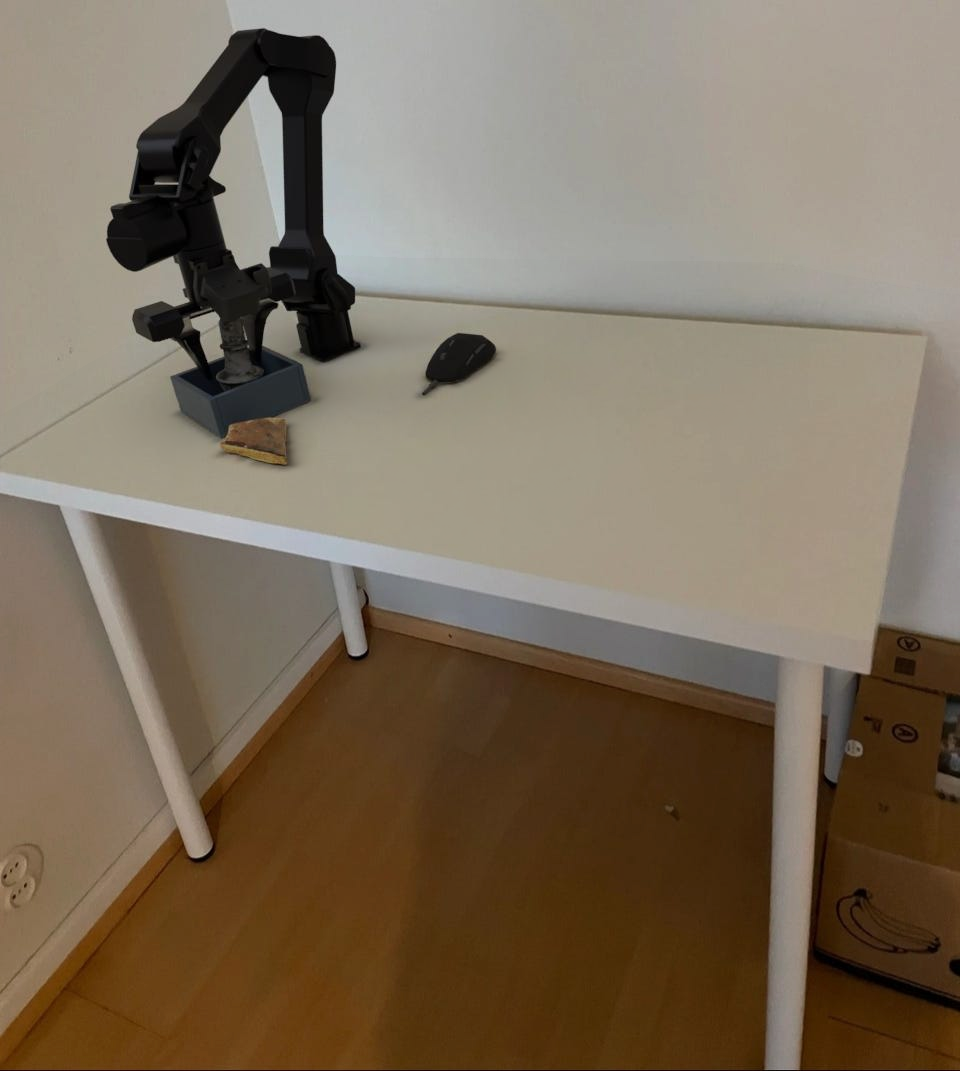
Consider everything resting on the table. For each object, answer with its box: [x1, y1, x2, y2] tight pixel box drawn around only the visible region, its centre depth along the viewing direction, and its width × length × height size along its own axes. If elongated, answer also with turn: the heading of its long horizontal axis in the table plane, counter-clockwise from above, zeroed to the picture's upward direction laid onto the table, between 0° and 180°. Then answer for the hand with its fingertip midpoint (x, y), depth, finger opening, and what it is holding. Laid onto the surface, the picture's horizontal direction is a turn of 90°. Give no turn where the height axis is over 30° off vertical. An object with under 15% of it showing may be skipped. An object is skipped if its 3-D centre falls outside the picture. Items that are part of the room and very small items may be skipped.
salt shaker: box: [216, 317, 264, 392], centre depth 118 cm, size 6×6×12 cm
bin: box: [169, 344, 312, 439], centre depth 120 cm, size 13×12×5 cm
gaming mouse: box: [421, 332, 497, 396], centre depth 121 cm, size 6×15×4 cm, turn 149°
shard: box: [219, 417, 288, 466], centre depth 109 cm, size 11×8×2 cm
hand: (233, 370), depth 118 cm, fingers open, 6 cm apart
